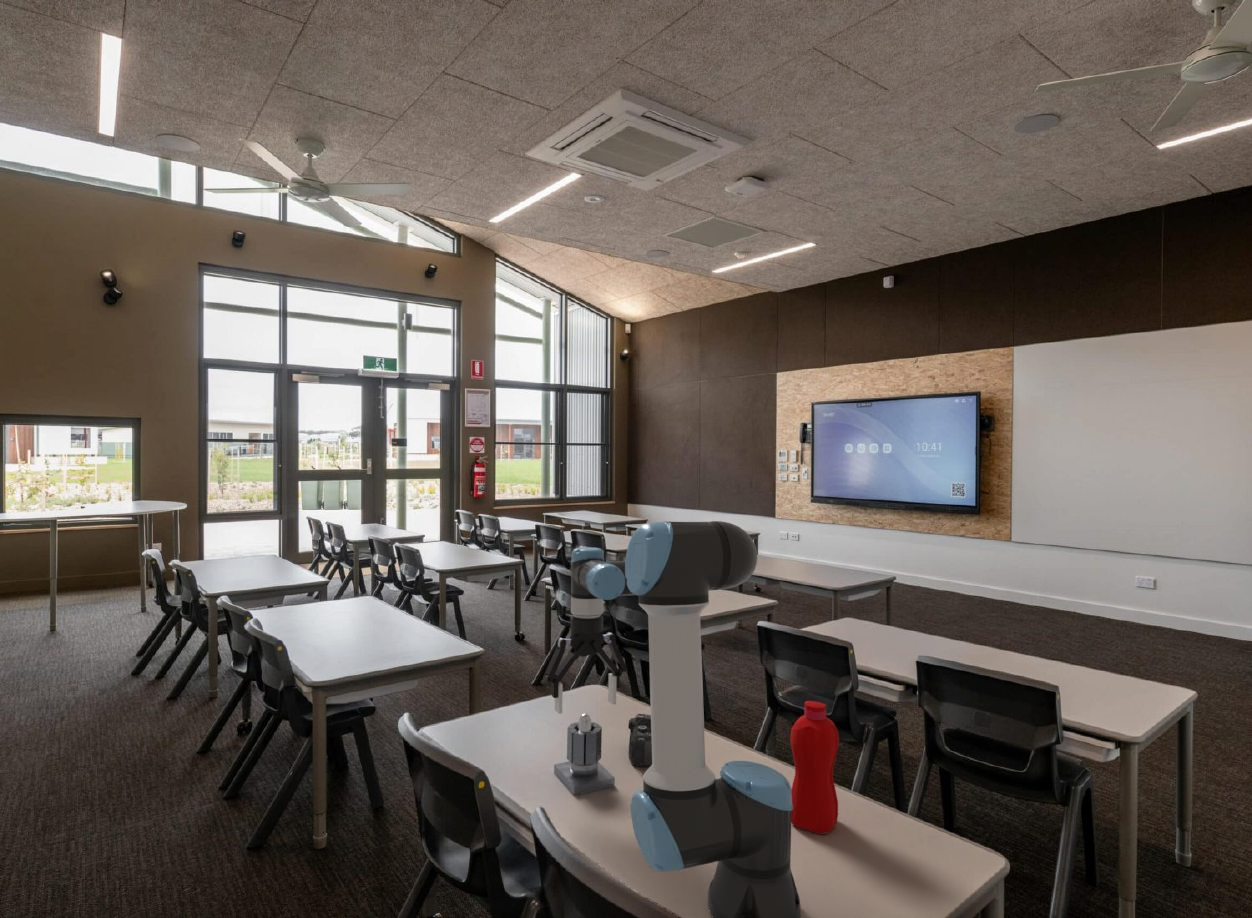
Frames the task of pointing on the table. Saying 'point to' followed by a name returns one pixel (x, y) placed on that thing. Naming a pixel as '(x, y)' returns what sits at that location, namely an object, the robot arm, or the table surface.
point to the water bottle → (814, 770)
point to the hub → (584, 744)
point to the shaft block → (584, 770)
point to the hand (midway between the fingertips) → (585, 707)
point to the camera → (640, 740)
